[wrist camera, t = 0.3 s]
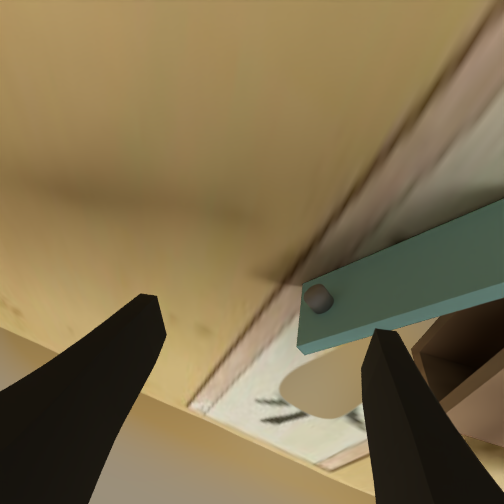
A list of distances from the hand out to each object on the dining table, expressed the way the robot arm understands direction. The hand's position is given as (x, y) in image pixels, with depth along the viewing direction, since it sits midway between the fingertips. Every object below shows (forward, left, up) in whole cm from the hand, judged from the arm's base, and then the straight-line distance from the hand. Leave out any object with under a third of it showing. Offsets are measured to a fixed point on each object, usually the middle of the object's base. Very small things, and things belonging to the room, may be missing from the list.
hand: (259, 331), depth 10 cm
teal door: (-7, 0, -9) cm, 11 cm away
